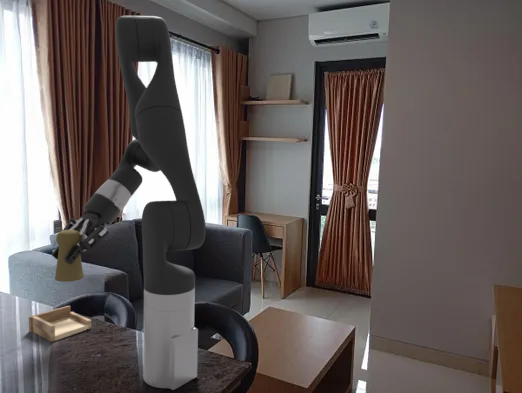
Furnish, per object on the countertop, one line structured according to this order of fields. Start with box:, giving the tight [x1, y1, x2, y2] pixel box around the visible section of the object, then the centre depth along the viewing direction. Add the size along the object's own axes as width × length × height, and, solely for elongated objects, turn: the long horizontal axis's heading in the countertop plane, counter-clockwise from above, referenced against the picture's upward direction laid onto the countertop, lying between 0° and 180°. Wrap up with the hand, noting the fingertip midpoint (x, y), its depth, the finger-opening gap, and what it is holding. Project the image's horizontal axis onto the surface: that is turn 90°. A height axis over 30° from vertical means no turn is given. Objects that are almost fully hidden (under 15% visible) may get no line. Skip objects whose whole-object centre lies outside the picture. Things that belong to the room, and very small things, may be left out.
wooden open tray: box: [28, 305, 92, 343], centre depth 100 cm, size 9×10×4 cm
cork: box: [54, 230, 84, 283], centre depth 98 cm, size 6×6×11 cm
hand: (61, 259), depth 97 cm, fingers closed on cork, 4 cm apart
